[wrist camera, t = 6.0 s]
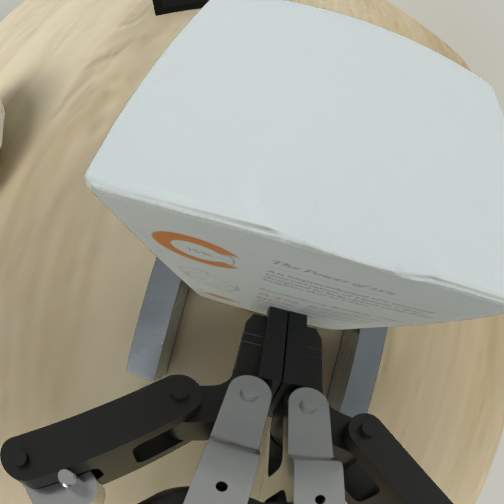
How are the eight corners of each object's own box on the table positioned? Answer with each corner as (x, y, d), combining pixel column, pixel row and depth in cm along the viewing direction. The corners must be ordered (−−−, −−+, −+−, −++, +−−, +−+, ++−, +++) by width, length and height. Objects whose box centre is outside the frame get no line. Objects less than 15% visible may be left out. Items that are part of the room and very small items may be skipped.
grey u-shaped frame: (141, 365, 15) (125, 371, 13) (226, 105, 20) (226, 81, 17) (346, 413, 15) (363, 424, 12) (386, 148, 19) (400, 129, 17)
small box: (355, 228, 18) (497, 84, 5) (335, 332, 16) (535, 318, 3) (226, 193, 18) (214, -15, 5) (194, 295, 16) (69, 190, 4)
